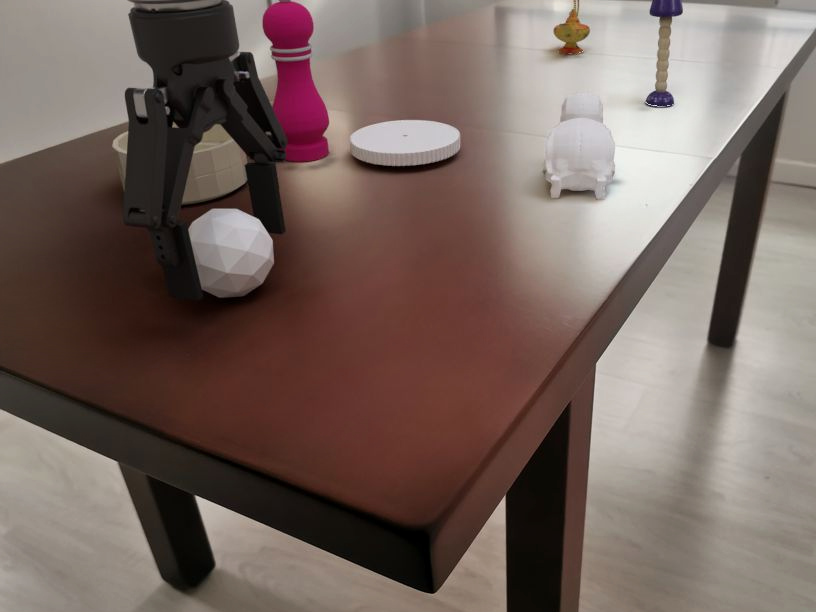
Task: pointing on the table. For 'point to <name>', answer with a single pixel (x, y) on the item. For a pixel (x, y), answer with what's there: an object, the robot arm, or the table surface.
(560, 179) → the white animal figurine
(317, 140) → the pepper mill
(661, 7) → the toy lamp
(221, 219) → the geometric ball
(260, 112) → the robot arm
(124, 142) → the bowl
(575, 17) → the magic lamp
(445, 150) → the plastic lid
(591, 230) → the table surface
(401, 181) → the table surface
